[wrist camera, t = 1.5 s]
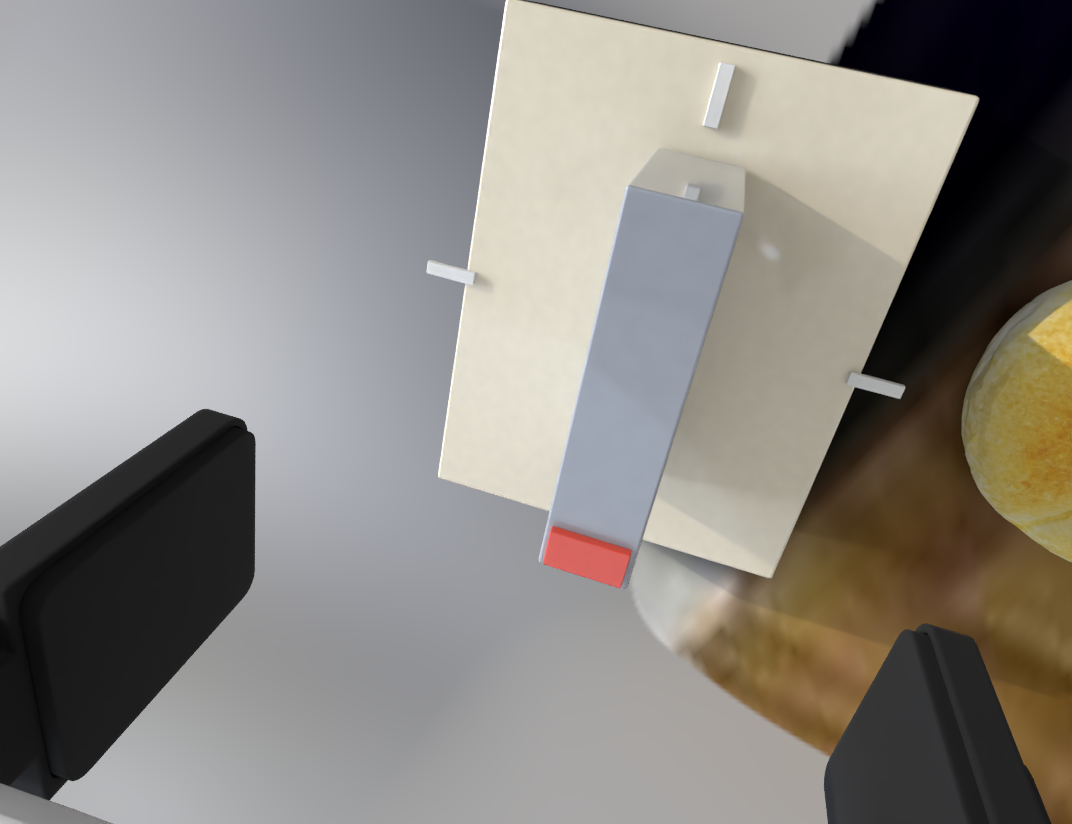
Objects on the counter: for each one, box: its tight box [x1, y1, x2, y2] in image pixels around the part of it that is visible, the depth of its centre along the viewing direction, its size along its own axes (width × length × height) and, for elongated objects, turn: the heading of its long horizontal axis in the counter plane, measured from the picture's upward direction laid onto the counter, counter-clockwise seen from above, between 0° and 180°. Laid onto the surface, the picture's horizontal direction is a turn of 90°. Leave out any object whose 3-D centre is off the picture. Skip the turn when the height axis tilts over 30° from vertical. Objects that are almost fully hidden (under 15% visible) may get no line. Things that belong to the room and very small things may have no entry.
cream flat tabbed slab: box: [427, 0, 979, 578], centre depth 22 cm, size 14×13×3 cm
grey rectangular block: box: [539, 148, 746, 589], centre depth 18 cm, size 9×2×6 cm, turn 169°
